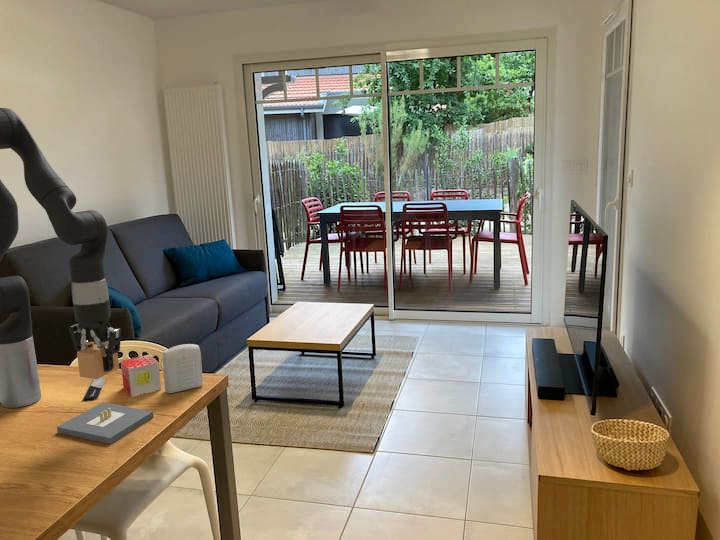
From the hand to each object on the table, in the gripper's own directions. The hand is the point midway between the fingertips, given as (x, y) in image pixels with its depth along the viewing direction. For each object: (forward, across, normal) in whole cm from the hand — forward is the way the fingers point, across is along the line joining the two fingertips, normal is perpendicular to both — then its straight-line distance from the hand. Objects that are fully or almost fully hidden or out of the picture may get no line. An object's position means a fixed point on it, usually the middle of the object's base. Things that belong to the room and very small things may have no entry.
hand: (99, 368), depth 137 cm
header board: (+14, 0, 0) cm, 14 cm away
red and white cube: (+15, -7, +20) cm, 26 cm away
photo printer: (+14, +4, +24) cm, 28 cm away
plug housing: (+1, 0, 0) cm, 1 cm away
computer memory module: (+15, -19, +15) cm, 28 cm away
